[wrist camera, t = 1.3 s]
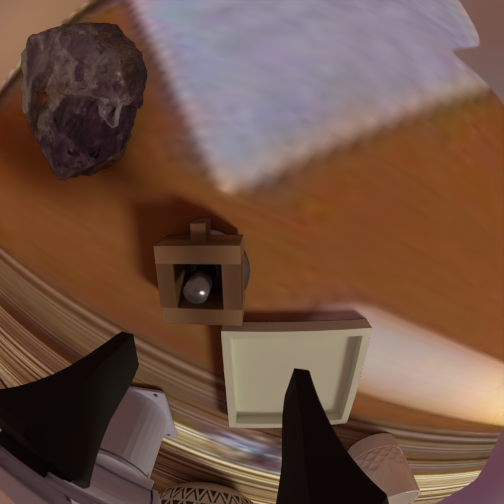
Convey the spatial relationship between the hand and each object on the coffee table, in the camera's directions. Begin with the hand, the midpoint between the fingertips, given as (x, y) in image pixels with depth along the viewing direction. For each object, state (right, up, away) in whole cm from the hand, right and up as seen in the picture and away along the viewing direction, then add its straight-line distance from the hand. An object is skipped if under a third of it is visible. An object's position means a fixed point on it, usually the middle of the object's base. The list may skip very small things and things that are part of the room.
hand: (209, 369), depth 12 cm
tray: (+6, -6, +13) cm, 15 cm away
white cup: (+17, -20, +17) cm, 31 cm away
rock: (-9, +17, +7) cm, 21 cm away
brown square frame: (-2, +4, +10) cm, 10 cm away
